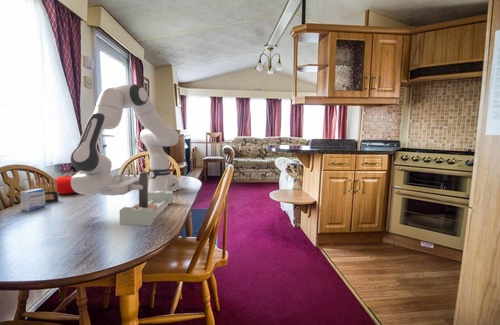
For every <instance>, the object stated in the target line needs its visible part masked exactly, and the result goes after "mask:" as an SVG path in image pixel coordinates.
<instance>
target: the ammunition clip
mask: <svg viewBox="0 0 500 325" xmlns="http://www.w3.org/2000/svg"><path fill="white" fill-rule="evenodd" d="M56 179H57V178H55V177H54V178H53V180H52V179H51V178H50V177H49V181H48V180H47V178H45V179H44V181H43V179H42V178H40V181H39V179H38V178H36V180H34V179H33V178H32V179H31V180H30V181H31V183H30V184H31V185H30V190H32V189H37V188H41V189H44V190H45V203H52V202H53V203H54V202H59V193H58V192H57V184H56Z"/></svg>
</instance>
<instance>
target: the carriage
mask: <svg viewBox="0 0 500 325" xmlns="http://www.w3.org/2000/svg"><path fill="white" fill-rule="evenodd" d="M148 176H149V171H148V172H147V171H139V172H138V177H139V185H144V188H143V189H142V190H138V203H136V204H134V205H133V206H132V207H143V208H154V211H156V210H157V205H150V204H148V186H149V181H148V180H149V178H148Z"/></svg>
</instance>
